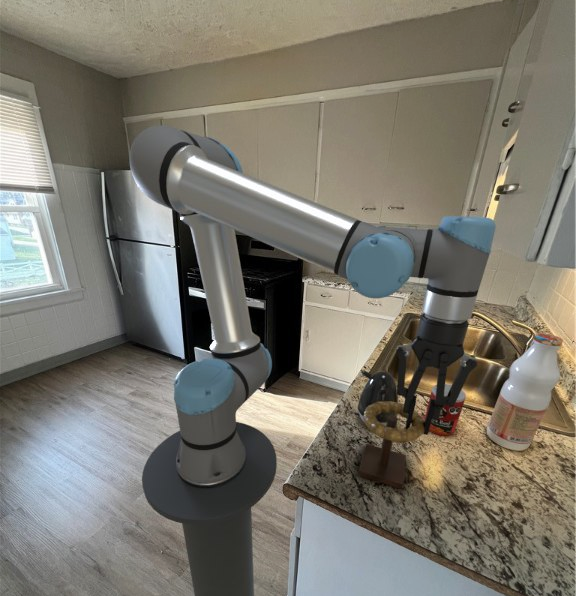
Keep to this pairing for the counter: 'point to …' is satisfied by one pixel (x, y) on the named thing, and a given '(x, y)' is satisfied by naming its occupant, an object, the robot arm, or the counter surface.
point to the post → (384, 461)
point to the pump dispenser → (378, 393)
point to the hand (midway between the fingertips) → (416, 427)
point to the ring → (389, 432)
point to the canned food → (446, 413)
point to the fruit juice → (526, 394)
